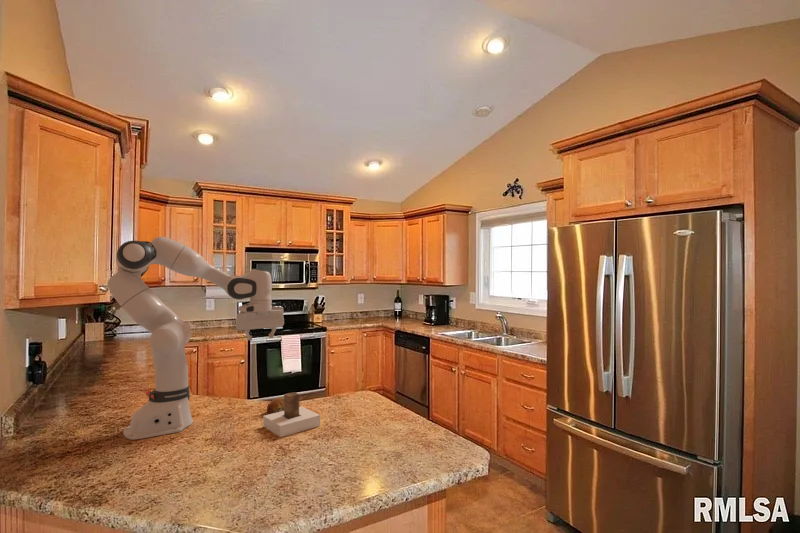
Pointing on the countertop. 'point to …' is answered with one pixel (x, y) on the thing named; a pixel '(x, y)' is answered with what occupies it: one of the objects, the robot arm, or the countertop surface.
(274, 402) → the bread roll
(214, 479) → the countertop surface
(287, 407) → the walnut peg
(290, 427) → the socket block
